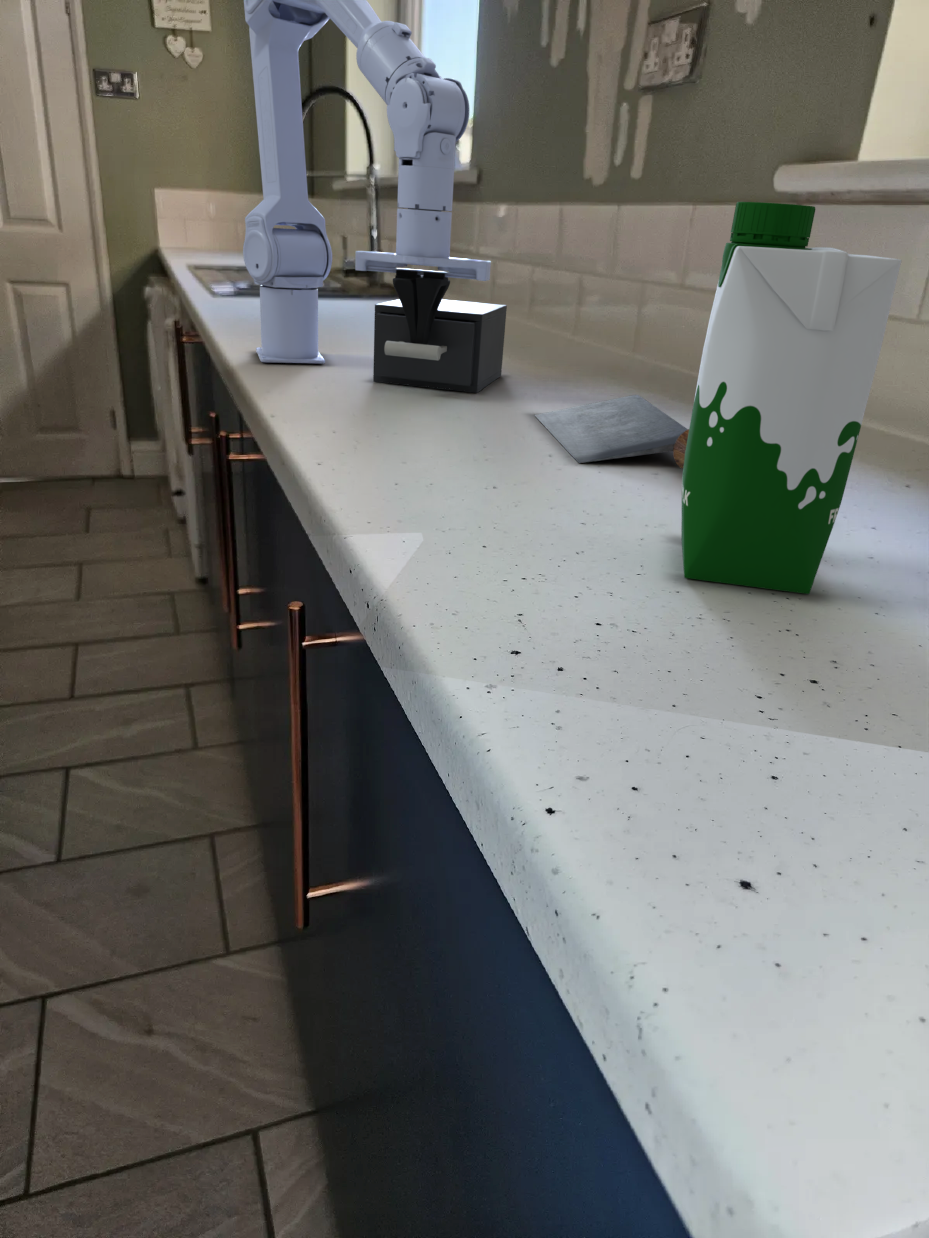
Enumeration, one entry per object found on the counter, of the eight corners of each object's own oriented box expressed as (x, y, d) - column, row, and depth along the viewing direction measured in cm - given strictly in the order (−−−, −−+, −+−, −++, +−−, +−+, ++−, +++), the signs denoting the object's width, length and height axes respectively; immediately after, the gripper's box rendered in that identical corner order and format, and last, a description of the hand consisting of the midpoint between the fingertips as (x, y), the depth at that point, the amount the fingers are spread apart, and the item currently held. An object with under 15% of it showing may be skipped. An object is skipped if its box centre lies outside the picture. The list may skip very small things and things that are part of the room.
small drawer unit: (476, 393, 100) (482, 314, 96) (372, 381, 102) (374, 304, 99) (501, 375, 112) (507, 305, 108) (407, 365, 114) (410, 296, 111)
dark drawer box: (459, 393, 94) (463, 327, 91) (360, 382, 97) (361, 317, 94) (493, 370, 110) (497, 314, 107) (407, 361, 112) (409, 305, 109)
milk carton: (666, 534, 58) (723, 203, 50) (807, 552, 57) (890, 214, 48) (668, 582, 50) (735, 198, 42) (831, 604, 49) (935, 211, 40)
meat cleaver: (532, 415, 91) (536, 375, 89) (636, 418, 92) (642, 380, 91) (632, 524, 61) (641, 468, 59) (783, 526, 62) (796, 472, 61)
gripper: (345, 204, 89) (344, 343, 94) (483, 214, 86) (474, 356, 91) (368, 206, 95) (366, 336, 100) (498, 215, 92) (489, 348, 98)
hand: (419, 345), depth 96 cm, fingers closed
